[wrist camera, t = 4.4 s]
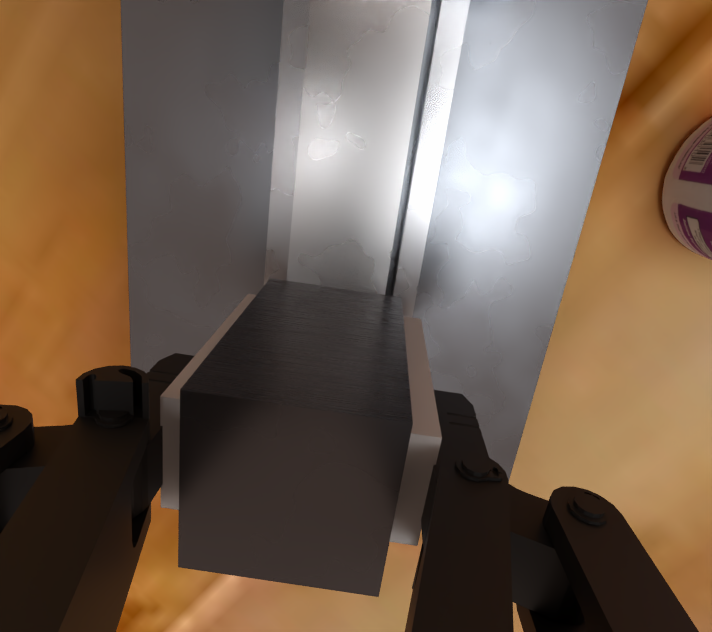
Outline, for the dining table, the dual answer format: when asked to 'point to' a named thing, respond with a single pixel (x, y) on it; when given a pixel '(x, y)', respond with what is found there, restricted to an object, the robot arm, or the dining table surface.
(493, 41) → the slotted base plate
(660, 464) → the dining table surface
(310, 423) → the sliding bolt with handle
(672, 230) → the pill bottle
